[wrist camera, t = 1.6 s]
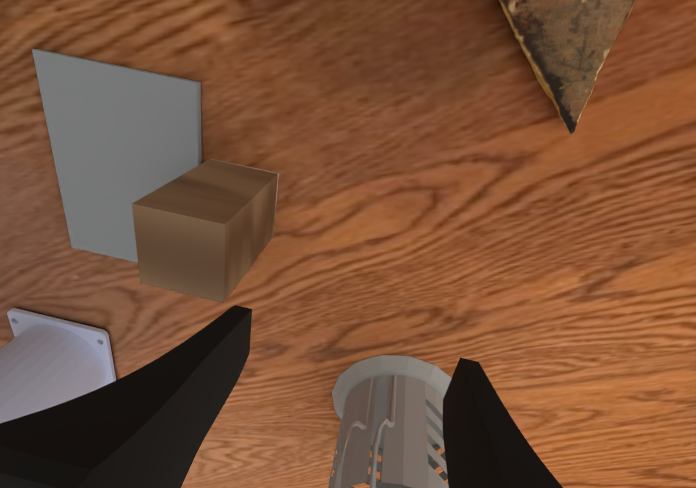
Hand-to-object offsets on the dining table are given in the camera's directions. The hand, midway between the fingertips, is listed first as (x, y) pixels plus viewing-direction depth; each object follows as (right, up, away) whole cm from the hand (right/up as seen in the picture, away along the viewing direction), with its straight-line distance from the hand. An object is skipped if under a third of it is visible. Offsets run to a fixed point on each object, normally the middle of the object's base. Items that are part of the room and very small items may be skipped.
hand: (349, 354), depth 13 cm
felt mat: (-13, +8, +10) cm, 18 cm away
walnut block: (-6, +6, +10) cm, 13 cm away
